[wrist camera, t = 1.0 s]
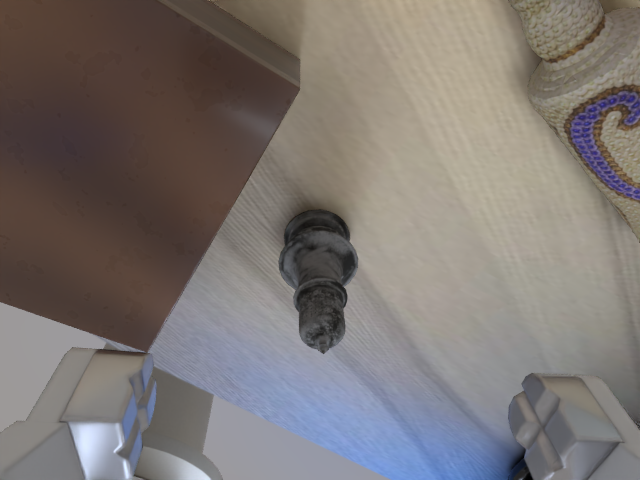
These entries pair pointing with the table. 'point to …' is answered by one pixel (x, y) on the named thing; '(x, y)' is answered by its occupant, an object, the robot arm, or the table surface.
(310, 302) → the salt shaker
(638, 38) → the decorative bottle
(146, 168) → the shelf
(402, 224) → the table surface
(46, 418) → the robot arm
